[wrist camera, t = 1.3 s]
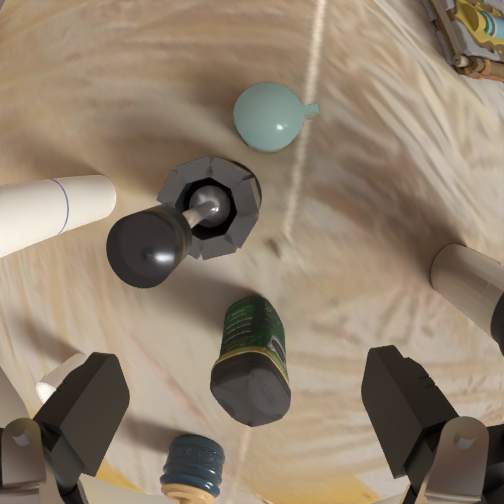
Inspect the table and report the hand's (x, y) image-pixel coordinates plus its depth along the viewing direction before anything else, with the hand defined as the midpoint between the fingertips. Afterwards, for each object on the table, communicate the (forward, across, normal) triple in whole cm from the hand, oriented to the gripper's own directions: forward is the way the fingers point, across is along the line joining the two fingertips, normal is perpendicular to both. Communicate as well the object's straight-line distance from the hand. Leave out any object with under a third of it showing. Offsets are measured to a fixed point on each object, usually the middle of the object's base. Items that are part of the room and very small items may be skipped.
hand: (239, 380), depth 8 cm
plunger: (+22, +4, -3) cm, 22 cm away
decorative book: (+32, -46, -39) cm, 68 cm away
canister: (+35, +15, +52) cm, 65 cm away
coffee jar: (+34, 0, +16) cm, 38 cm away
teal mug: (+33, -4, -13) cm, 36 cm away
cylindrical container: (+34, +24, -5) cm, 42 cm away
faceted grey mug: (+34, +4, -3) cm, 34 cm away
